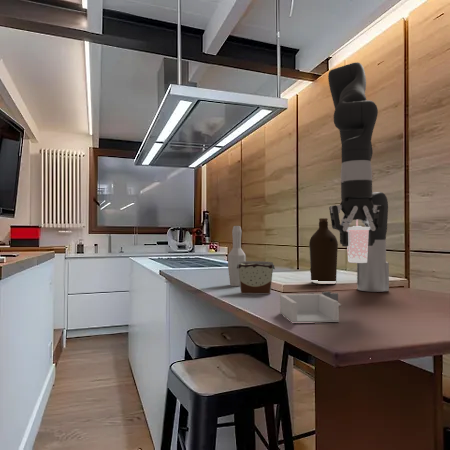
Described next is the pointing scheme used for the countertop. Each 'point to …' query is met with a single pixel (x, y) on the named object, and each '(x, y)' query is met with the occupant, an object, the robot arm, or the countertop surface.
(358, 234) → the beverage cup
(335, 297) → the clip
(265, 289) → the food container
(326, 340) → the countertop surface
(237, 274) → the faceted bottle
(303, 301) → the tray
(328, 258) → the olive oil
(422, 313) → the countertop surface
